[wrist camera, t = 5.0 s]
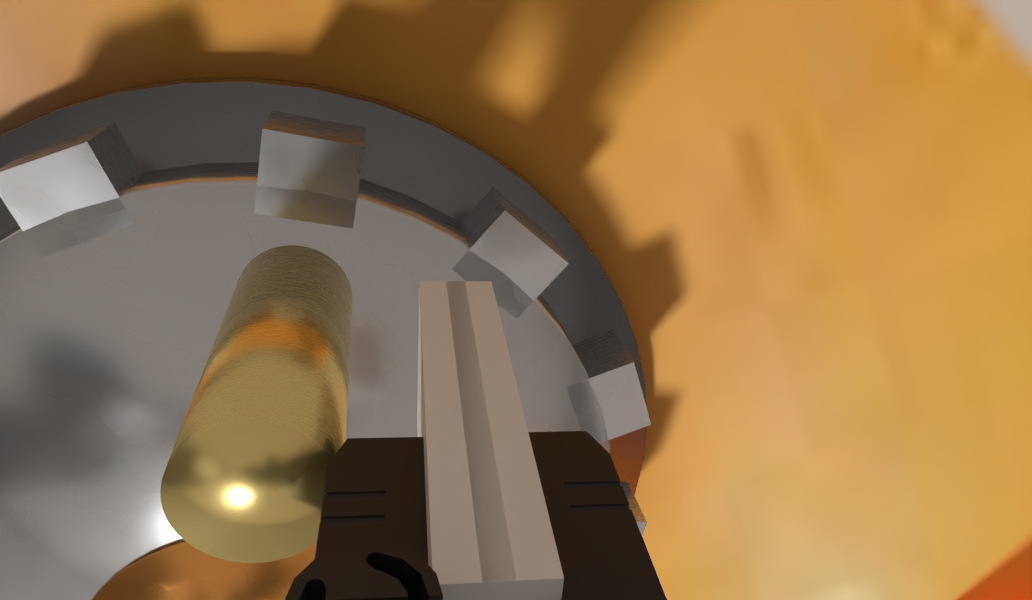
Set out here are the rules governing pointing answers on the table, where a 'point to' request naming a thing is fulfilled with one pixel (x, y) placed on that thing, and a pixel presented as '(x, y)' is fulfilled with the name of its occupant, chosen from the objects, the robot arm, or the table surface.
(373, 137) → the base plate
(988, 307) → the table surface
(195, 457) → the sprocket
